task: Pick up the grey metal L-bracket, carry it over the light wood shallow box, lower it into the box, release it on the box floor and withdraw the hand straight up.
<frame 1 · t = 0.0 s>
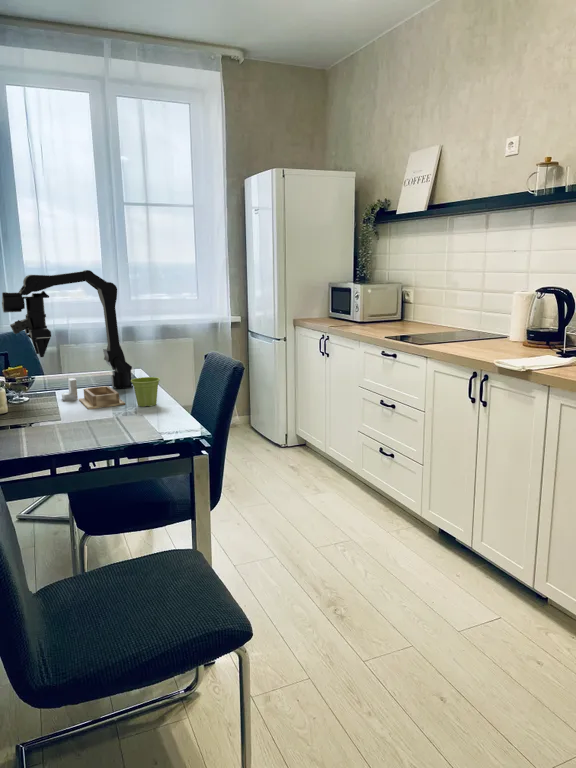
hand: (39, 355, 208), 15 cm above the table, fingers open, 9 cm apart
light wood shallow box: (101, 402, 200), on the table
plant pot: (146, 405, 196), on the table
bracket: (70, 399, 206), on the table
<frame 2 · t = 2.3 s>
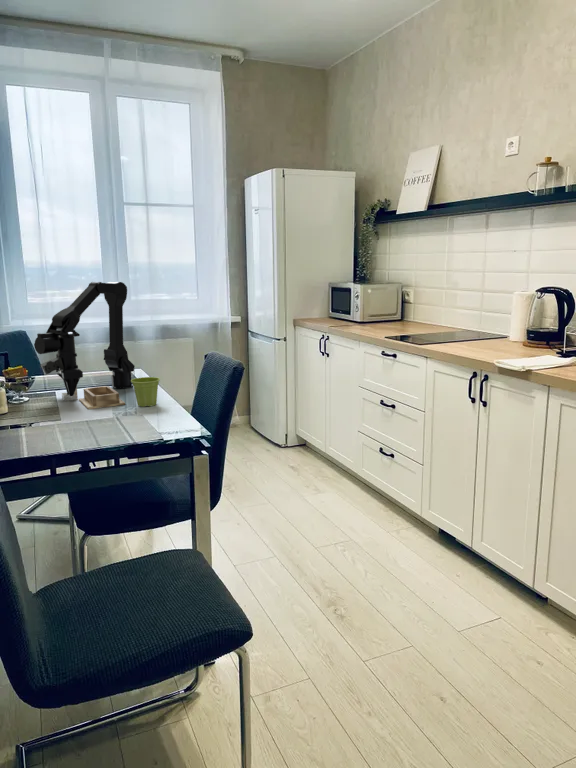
hand: (70, 394, 205), 2 cm above the table, fingers closed on bracket, 4 cm apart
bracket: (70, 398, 206), on the table, touching gripper
everything else where it was.
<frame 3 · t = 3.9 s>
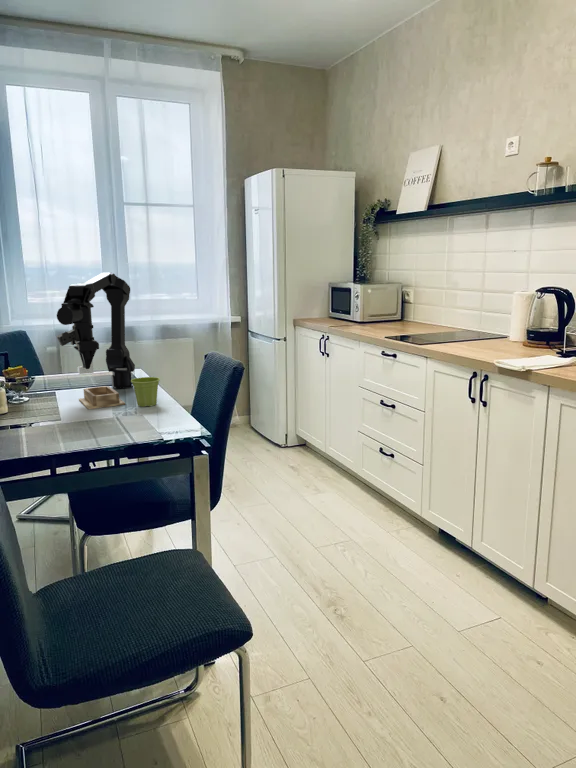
hand: (86, 368, 199), 12 cm above the table, fingers closed on bracket, 4 cm apart
bracket: (86, 372, 200), point 10 cm above the table, touching gripper
everything else where it was.
when the fingers open (3 cm above the table, at t = 5.7 s): bracket drops 1 cm, resting on light wood shallow box.
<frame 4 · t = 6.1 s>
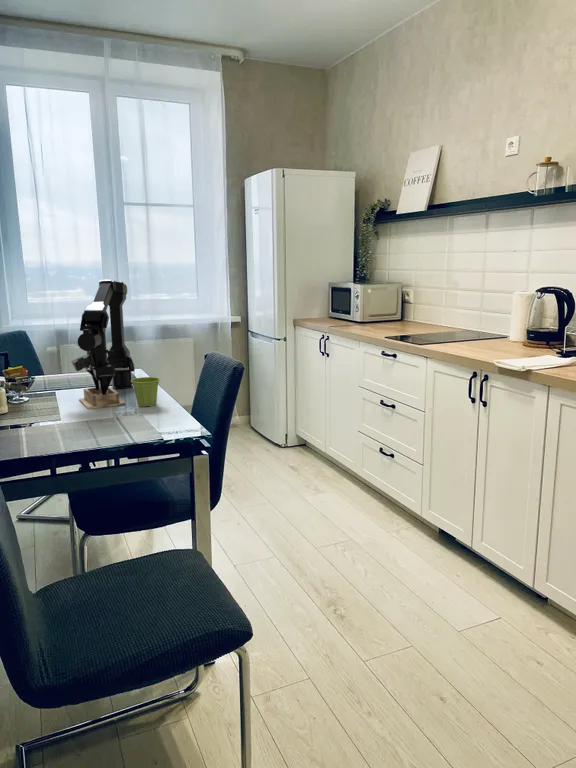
hand: (100, 392, 199), 3 cm above the table, fingers open, 8 cm apart
bracket: (101, 400, 200), point 1 cm above the table, touching light wood shallow box
everything else where it was.
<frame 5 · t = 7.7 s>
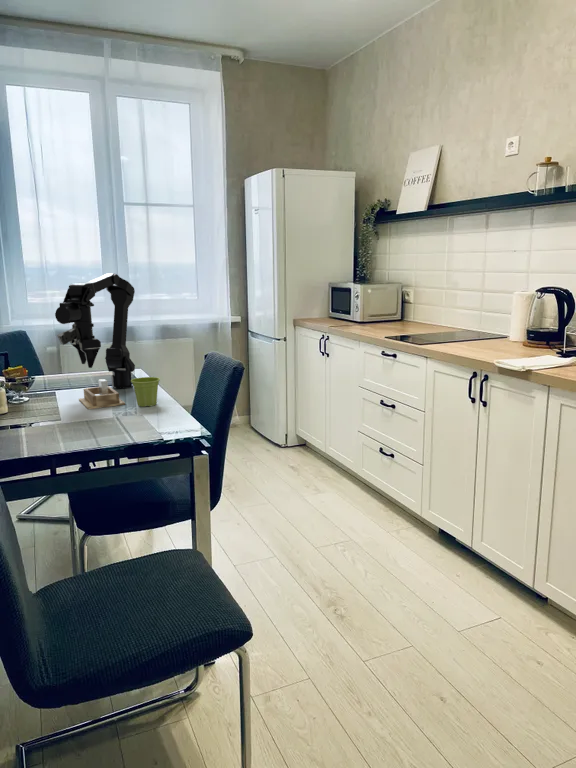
hand: (86, 365, 203), 12 cm above the table, fingers open, 9 cm apart
nothing on the table moved.
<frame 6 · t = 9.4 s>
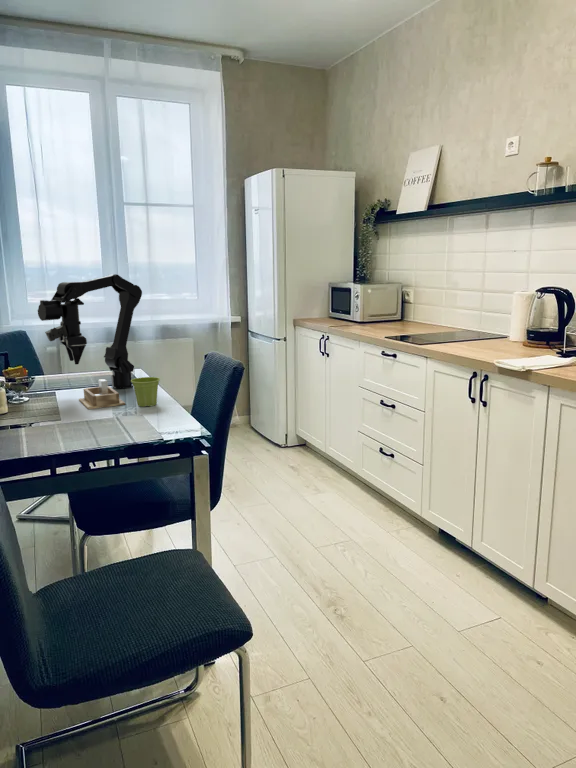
hand: (74, 362, 208), 12 cm above the table, fingers open, 9 cm apart
nothing on the table moved.
at the end: bracket inside the target area on the light wood shallow box (0.1 cm from its centre), point 0.6 cm above the light wood shallow box's base; bracket tilted 0°; the gripper is holding nothing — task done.
